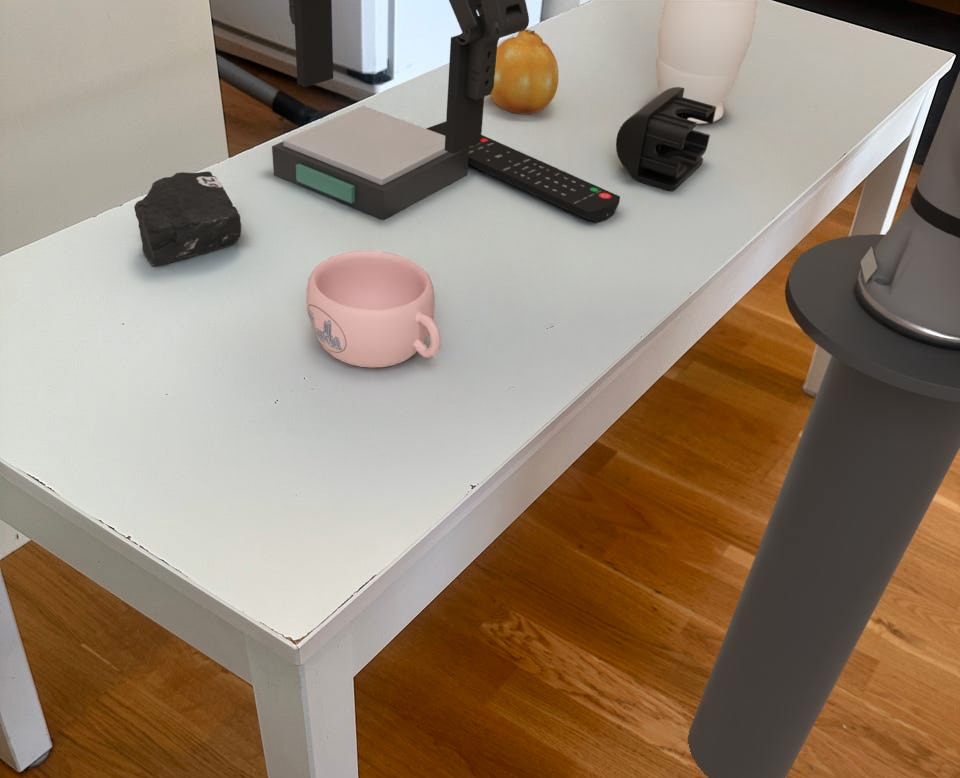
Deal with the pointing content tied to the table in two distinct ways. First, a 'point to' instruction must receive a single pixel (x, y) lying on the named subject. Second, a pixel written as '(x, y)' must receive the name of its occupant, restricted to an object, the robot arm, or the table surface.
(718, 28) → the jar
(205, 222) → the rock
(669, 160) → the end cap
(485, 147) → the remote control
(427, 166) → the scale
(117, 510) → the table surface
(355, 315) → the mug
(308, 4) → the robot arm
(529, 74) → the fruit
